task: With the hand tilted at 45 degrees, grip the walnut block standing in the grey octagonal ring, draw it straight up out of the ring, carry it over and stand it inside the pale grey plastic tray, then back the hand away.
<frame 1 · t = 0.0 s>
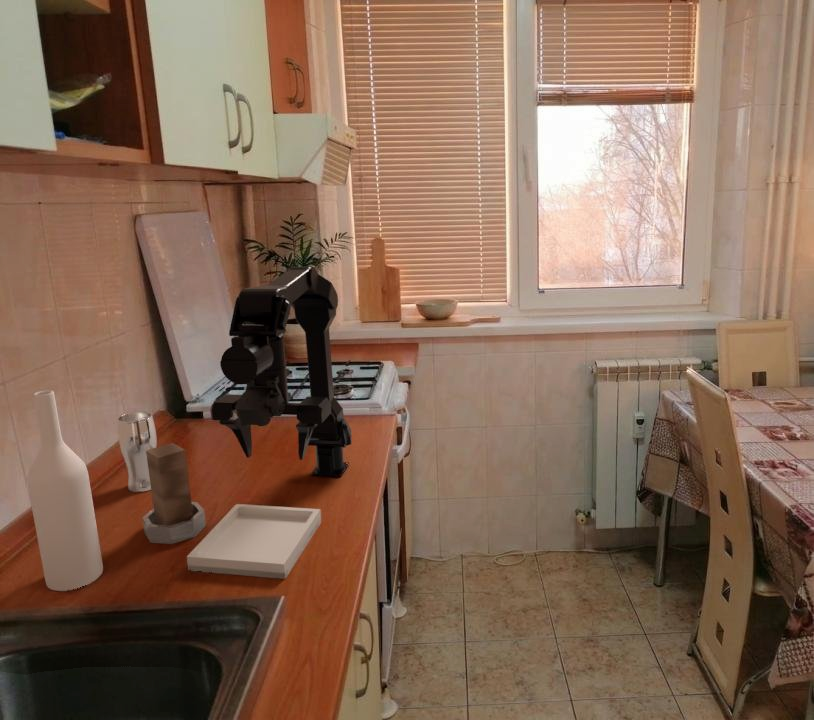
hand: (275, 457, 108), 15 cm above the counter, tool pointing down, fingers open, 9 cm apart
walnut block: (170, 490, 114), in the grey octagonal ring
bottle: (75, 577, 102), on the counter
grey octagonal ring: (175, 529, 116), on the counter
beer glass: (144, 486, 134), on the counter
tray: (259, 544, 110), on the counter
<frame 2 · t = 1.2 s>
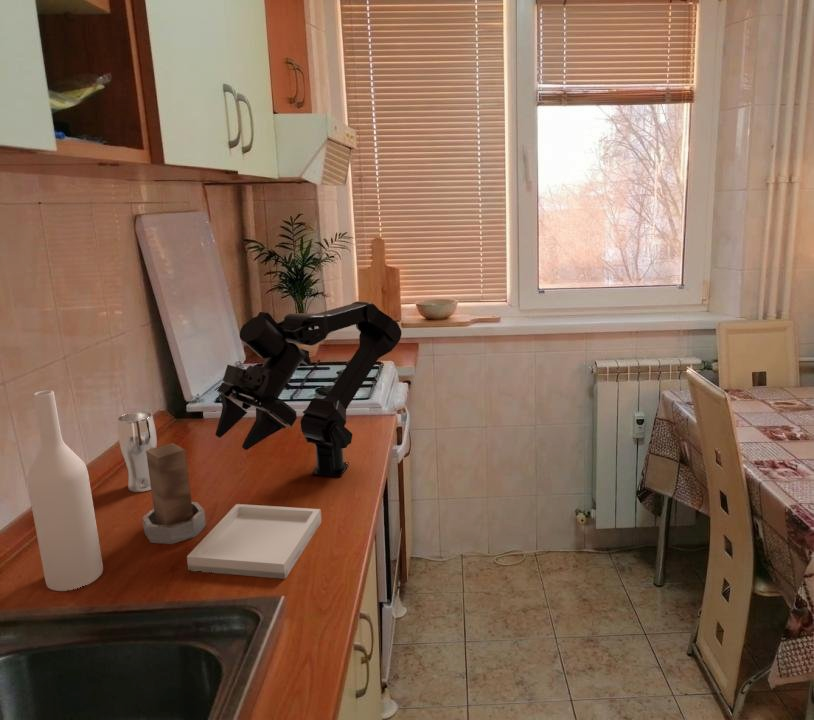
hand: (230, 442, 118), 14 cm above the counter, tool tilted 45°, fingers open, 9 cm apart
nothing on the counter moved.
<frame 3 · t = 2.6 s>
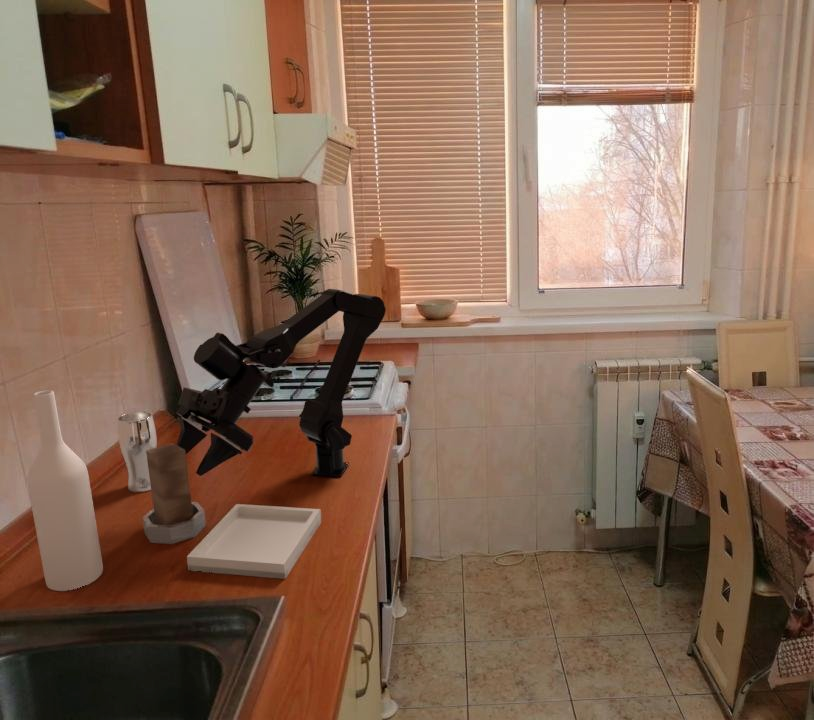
hand: (186, 467, 115), 11 cm above the counter, tool tilted 45°, fingers open, 9 cm apart
nothing on the counter moved.
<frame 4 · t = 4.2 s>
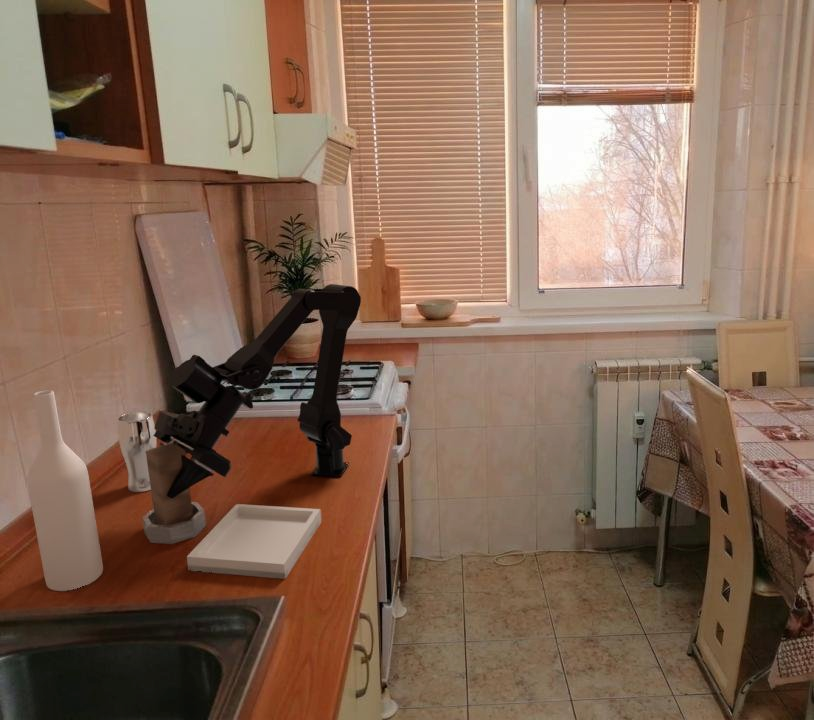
hand: (162, 492, 113), 8 cm above the counter, tool tilted 45°, fingers closed on walnut block, 5 cm apart
walnut block: (170, 490, 114), in the grey octagonal ring, touching gripper
everything else where it was.
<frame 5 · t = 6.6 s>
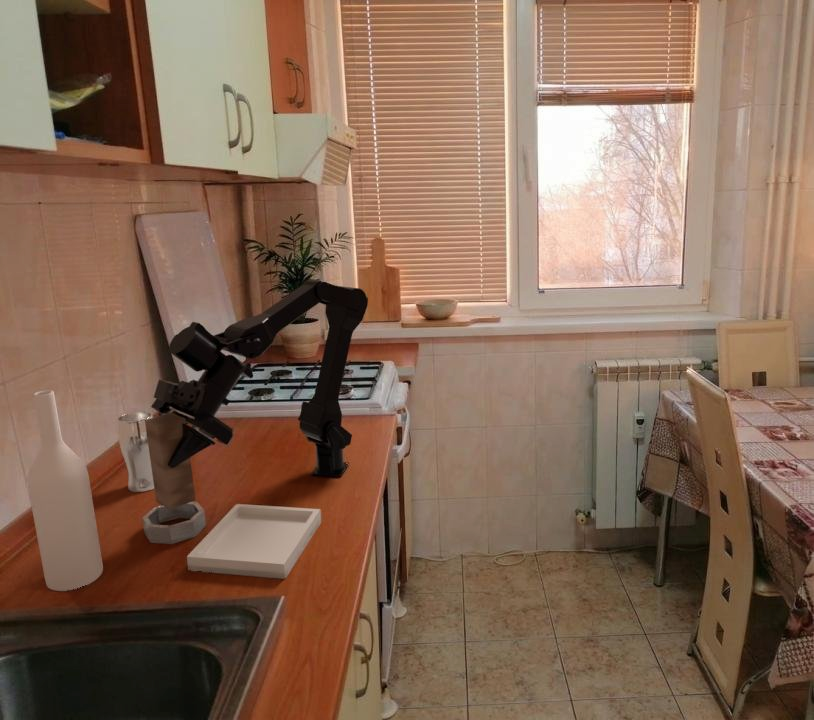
hand: (163, 462, 111), 13 cm above the counter, tool tilted 45°, fingers closed on walnut block, 5 cm apart
walnut block: (170, 460, 112), point 13 cm above the counter, touching gripper
everything else where it was.
when the fingers open (10 cm above the counter, at t = 9.0 s): walnut block drops 1 cm, resting on tray.
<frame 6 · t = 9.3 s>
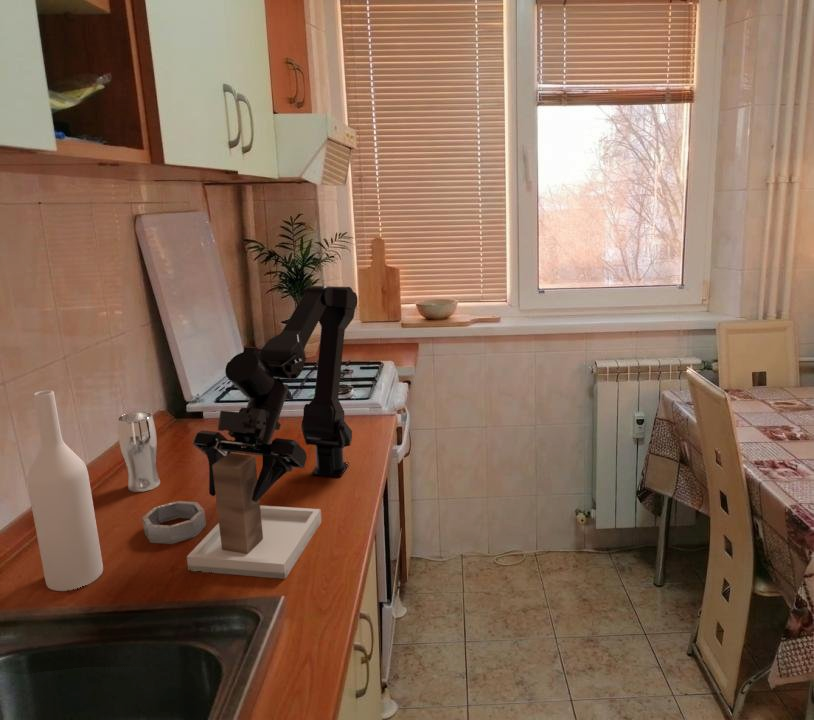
hand: (232, 498, 104), 10 cm above the counter, tool tilted 45°, fingers open, 8 cm apart
walnut block: (238, 503, 106), in the tray, point 9 cm above the counter
everything else where it was.
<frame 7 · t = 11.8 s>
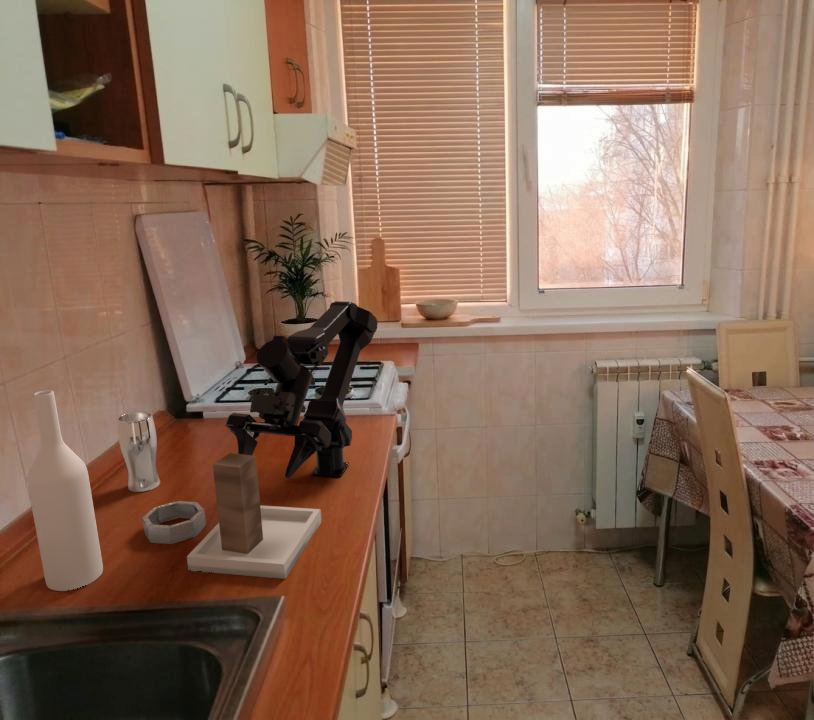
hand: (263, 474, 113), 10 cm above the counter, tool tilted 45°, fingers open, 9 cm apart
nothing on the counter moved.
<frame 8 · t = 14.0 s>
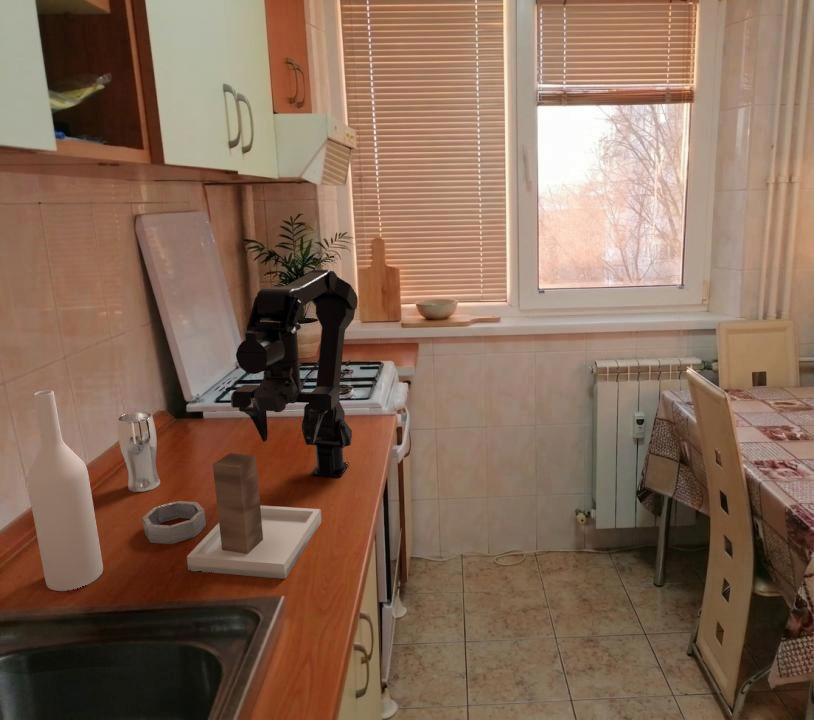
hand: (288, 441, 120), 13 cm above the counter, tool pointing down, fingers open, 9 cm apart
nothing on the counter moved.
at the end: walnut block inside the target area on the tray (2.8 cm from its centre), point 8.5 cm above the tray's base; walnut block tilted 0°; the gripper is holding nothing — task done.
